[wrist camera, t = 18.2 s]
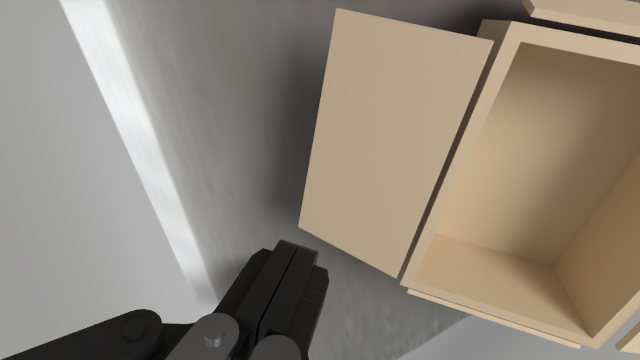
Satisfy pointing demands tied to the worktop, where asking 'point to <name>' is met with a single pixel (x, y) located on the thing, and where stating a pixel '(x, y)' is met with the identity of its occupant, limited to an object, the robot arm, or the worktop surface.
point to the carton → (542, 181)
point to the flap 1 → (385, 131)
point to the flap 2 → (630, 341)
